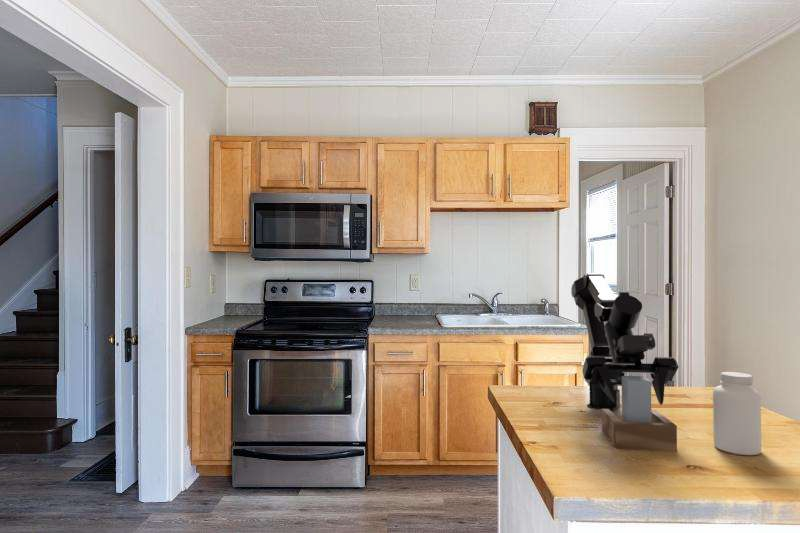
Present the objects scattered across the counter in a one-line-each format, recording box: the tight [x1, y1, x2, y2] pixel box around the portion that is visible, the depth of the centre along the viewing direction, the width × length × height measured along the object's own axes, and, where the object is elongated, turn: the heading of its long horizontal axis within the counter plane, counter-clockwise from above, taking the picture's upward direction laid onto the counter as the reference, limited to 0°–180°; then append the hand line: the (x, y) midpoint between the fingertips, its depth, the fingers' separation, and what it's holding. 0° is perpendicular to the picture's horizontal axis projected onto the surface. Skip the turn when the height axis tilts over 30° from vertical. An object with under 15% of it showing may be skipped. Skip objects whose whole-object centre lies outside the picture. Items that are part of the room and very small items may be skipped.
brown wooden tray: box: [601, 409, 678, 452], centre depth 104 cm, size 11×12×5 cm
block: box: [621, 375, 652, 423], centre depth 105 cm, size 4×4×13 cm
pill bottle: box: [712, 371, 762, 456], centre depth 99 cm, size 8×8×15 cm
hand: (638, 403), depth 103 cm, fingers open, 9 cm apart
